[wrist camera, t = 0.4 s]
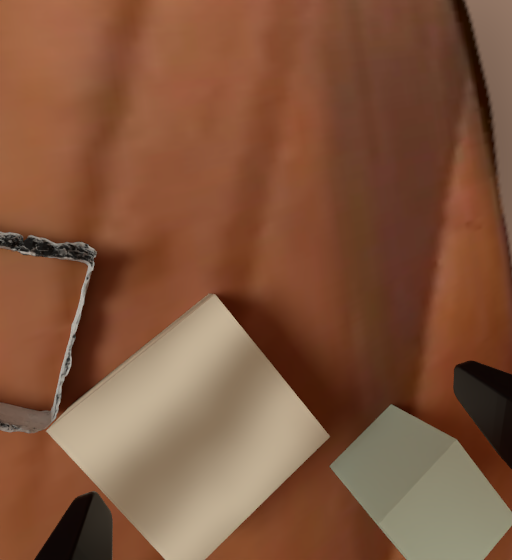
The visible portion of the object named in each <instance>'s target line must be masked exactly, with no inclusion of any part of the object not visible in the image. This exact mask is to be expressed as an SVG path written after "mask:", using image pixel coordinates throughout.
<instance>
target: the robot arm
mask: <svg viewBox="0 0 512 560" xmlns="http://www.w3.org/2000/svg"><path fill="white" fill-rule="evenodd" d="M453 389H454V393H455V396H456V397H457V399H458V400H459V402H460V403H461V404H462V406H463V407H464V409H465V410H466V411H467V413H468V414H469V415H470V417H471V418H472V419H473V421H474V422H475V423H476V425H477V426H478V428H479V429H480V430H481V432H482V433H483V434H484V436H485V437H486V438H487V440H488V441H489V442H490V444H491V445H492V446H493V448H494V449H495V450H496V452H497V453H498V454H499V455H500V456H501V458H502V459H503V460H504V461H505V462H506V463H507V465H508V466H509V467H510V468H511V469H512V375H511V374H509V373H506V372H503V371H500V370H497V369H495V368H492V367H489V366H486V365H484V364H481V363H478V362H475V361H467V362H464V363H461V364H458V365H456V367H455V369H454V385H453ZM112 524H113V523H112V515H111V512H110V510H109V508H108V507H107V506H106V504H105V503H104V501H103V500H102V498H101V497H100V496H99V494H98V493H97V492H95V491H92V492H89V493H86V494H83V495H80V496H78V497H77V498H75V500H74V501H73V502H72V503H71V505H70V506H69V508H68V509H67V511H66V512H65V514H64V515H63V517H62V519H61V520H60V522H59V523H58V525H57V526H56V528H55V529H54V531H53V532H52V534H51V535H50V537H49V538H48V540H47V541H46V543H45V544H44V546H43V547H42V549H41V550H40V552H39V553H38V555H37V556H36V558H35V559H34V560H112Z"/></svg>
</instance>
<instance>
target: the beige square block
mask: <svg viewBox="0 0 512 560" xmlns="http://www.w3.org/2000/svg"><path fill="white" fill-rule="evenodd" d="M47 432H48V433H49V435H50V436H51V437H52V438H53V439H54V440H55V441H56V442H57V443H58V444H59V445H60V446H61V447H62V449H63V450H64V451H65V452H66V453H67V454H68V455H69V456H70V457H71V458H72V459H73V460H74V462H75V463H76V464H77V465H78V466H79V467H80V468H81V469H82V470H83V471H84V472H85V473H86V474H87V476H88V477H89V478H90V479H91V480H92V481H93V482H94V483H95V484H96V485H97V486H98V487H99V488H100V490H101V491H102V492H103V493H104V494H105V495H106V496H107V497H108V498H109V499H110V500H111V501H112V502H113V504H114V505H115V506H116V507H117V508H118V509H119V510H120V511H121V512H122V513H123V514H124V515H125V517H126V518H127V519H128V520H129V521H130V522H131V523H132V524H133V525H134V526H135V527H136V528H137V529H138V531H139V532H140V533H141V534H142V535H143V536H144V537H145V538H146V539H147V540H148V541H149V542H150V543H151V545H152V546H153V547H154V548H155V549H156V550H157V551H158V552H159V553H160V554H161V555H162V556H163V558H164V559H165V560H205V559H206V558H207V557H208V556H209V555H210V554H211V553H212V552H213V551H214V550H215V549H216V548H217V547H218V546H219V545H220V544H221V543H222V542H223V541H224V540H225V539H226V538H227V537H228V536H229V535H230V534H231V533H232V532H233V531H234V530H235V529H236V528H237V527H238V526H239V525H240V524H241V523H242V522H243V521H245V520H246V519H247V518H248V517H249V516H250V515H251V514H252V513H253V512H254V511H255V510H256V509H257V508H258V507H259V506H260V505H261V504H262V503H263V502H264V501H265V500H266V499H267V498H268V497H269V496H270V495H271V494H272V493H273V492H274V491H275V490H276V489H277V488H278V487H279V486H280V485H281V484H282V483H283V482H284V481H285V480H286V479H287V478H288V477H289V476H290V475H291V474H292V473H293V472H294V471H295V470H296V469H298V468H299V467H300V466H301V465H302V464H303V463H304V462H305V461H306V460H307V459H308V458H309V457H310V456H311V455H312V454H313V453H314V452H315V451H316V450H317V449H318V448H319V447H320V446H321V445H322V444H323V443H324V442H325V441H326V440H327V439H328V438H329V437H330V436H329V434H328V433H327V432H326V431H325V430H324V428H323V427H322V426H321V425H320V423H319V422H318V421H317V420H316V418H315V417H314V416H313V415H312V413H311V412H310V411H309V410H308V409H307V407H306V406H305V405H304V404H303V402H302V401H301V400H300V399H299V397H298V396H297V395H296V394H295V392H294V391H293V390H292V389H291V387H290V386H289V385H288V384H287V383H286V381H285V380H284V379H283V378H282V376H281V375H280V374H279V373H278V371H277V370H276V369H275V368H274V366H273V365H272V364H271V363H270V361H269V360H268V359H267V358H266V357H265V355H264V354H263V353H262V352H261V350H260V349H259V348H258V347H257V345H256V344H255V343H254V342H253V340H252V339H251V338H250V337H249V335H248V334H247V333H246V332H245V331H244V329H243V328H242V327H241V326H240V324H239V323H238V322H237V321H236V319H235V318H234V317H233V316H232V314H231V313H230V312H229V311H228V310H227V308H226V307H225V306H224V305H223V303H222V302H221V301H220V300H219V298H218V297H217V296H216V295H215V294H208V295H207V296H206V297H204V298H203V299H202V300H201V301H199V302H198V303H197V304H196V305H194V306H193V307H192V308H191V309H189V310H188V311H187V312H186V313H185V314H183V315H182V316H181V317H180V318H178V319H177V320H176V321H175V322H173V323H172V324H171V325H170V326H168V327H167V328H166V329H165V330H163V331H162V332H161V333H160V334H158V335H157V336H156V337H155V338H153V339H152V340H151V341H150V342H148V343H147V344H146V345H145V346H143V347H142V348H141V349H140V350H138V351H137V352H136V353H135V354H134V355H132V356H131V357H130V358H129V359H127V360H126V361H125V362H124V363H122V364H121V365H120V366H119V367H117V368H116V369H115V370H114V371H112V372H111V373H110V374H109V375H107V376H106V377H105V378H104V379H102V380H101V381H100V382H99V383H97V384H96V385H95V386H94V387H92V388H91V389H90V390H89V391H88V392H86V393H85V394H84V395H83V396H81V397H80V398H79V399H78V400H76V401H75V402H74V403H73V404H72V405H71V406H70V407H69V408H68V409H67V410H66V411H65V412H64V413H63V414H62V415H61V416H60V417H59V418H58V419H57V420H56V421H55V422H54V423H53V424H52V425H51V426H50V428H49V429H48V430H47Z"/></svg>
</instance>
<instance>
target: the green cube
mask: <svg viewBox="0 0 512 560" xmlns="http://www.w3.org/2000/svg"><path fill="white" fill-rule="evenodd" d="M330 468H331V469H332V470H333V471H334V473H335V474H336V475H337V476H338V477H339V479H340V480H341V481H342V482H343V484H344V485H345V486H346V487H347V488H348V490H349V491H350V492H351V493H352V494H353V496H354V497H355V498H356V499H357V501H358V502H359V503H360V504H361V505H362V507H363V508H364V509H365V510H366V512H367V513H368V514H369V515H370V516H371V518H372V519H373V520H374V521H375V523H376V524H377V525H378V526H379V527H380V529H381V530H382V531H383V532H384V533H385V535H386V536H387V537H388V538H389V539H390V541H391V542H392V543H393V544H394V545H395V547H396V548H397V549H398V550H399V551H400V553H401V554H402V555H403V556H404V557H405V558H406V560H484V558H485V557H486V556H487V555H488V553H489V552H490V551H491V550H492V549H493V547H494V546H495V545H496V544H497V543H498V541H499V540H500V539H501V538H502V537H503V535H504V534H505V533H506V532H507V531H508V529H509V528H510V527H511V526H512V512H511V511H510V509H509V508H508V507H507V505H506V504H505V503H504V501H503V500H502V499H501V497H500V496H499V495H498V493H497V492H496V491H495V489H494V488H493V487H492V485H491V484H490V483H489V481H488V480H487V479H486V477H485V476H484V475H483V474H482V472H481V471H480V470H479V468H478V467H477V466H476V464H475V463H474V462H473V460H472V459H471V458H470V456H469V455H468V454H467V452H466V451H465V450H464V448H463V447H462V446H461V444H460V443H459V442H458V440H457V439H455V438H453V437H451V436H449V435H448V434H446V433H444V432H442V431H440V430H438V429H436V428H435V427H433V426H431V425H429V424H427V423H425V422H423V421H422V420H420V419H418V418H416V417H414V416H412V415H410V414H408V413H407V412H405V411H403V410H401V409H399V408H397V407H395V406H394V405H392V404H391V405H390V406H389V407H388V408H387V409H386V410H385V411H384V412H383V413H382V414H381V415H380V416H379V417H378V418H377V419H376V420H375V421H374V422H373V423H372V424H371V425H370V426H369V427H368V428H367V429H366V430H365V431H364V432H363V433H362V434H361V435H360V436H359V437H358V438H357V439H356V440H355V441H354V442H353V443H352V444H351V445H350V446H349V447H348V448H347V449H346V450H345V451H344V452H343V453H342V454H341V455H340V456H339V457H338V458H337V459H336V460H335V461H334V462H333V463H332V464H331V465H330Z"/></svg>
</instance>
